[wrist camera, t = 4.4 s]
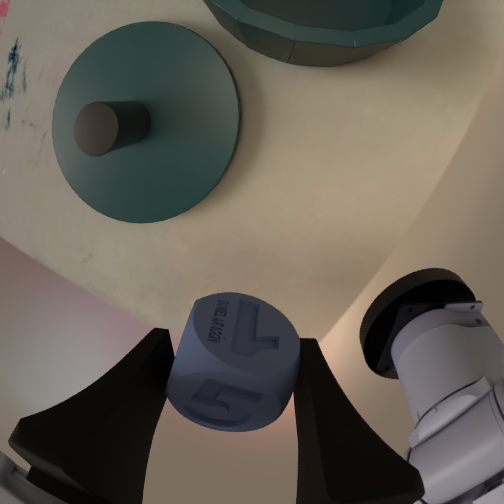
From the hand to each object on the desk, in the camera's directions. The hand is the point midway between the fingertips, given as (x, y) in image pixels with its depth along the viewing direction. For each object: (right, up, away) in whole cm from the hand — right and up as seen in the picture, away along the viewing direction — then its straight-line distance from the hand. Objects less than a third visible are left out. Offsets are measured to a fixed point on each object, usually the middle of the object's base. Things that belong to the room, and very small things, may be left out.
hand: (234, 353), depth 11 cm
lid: (-6, +11, +3) cm, 12 cm away
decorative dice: (0, +1, +1) cm, 2 cm away
